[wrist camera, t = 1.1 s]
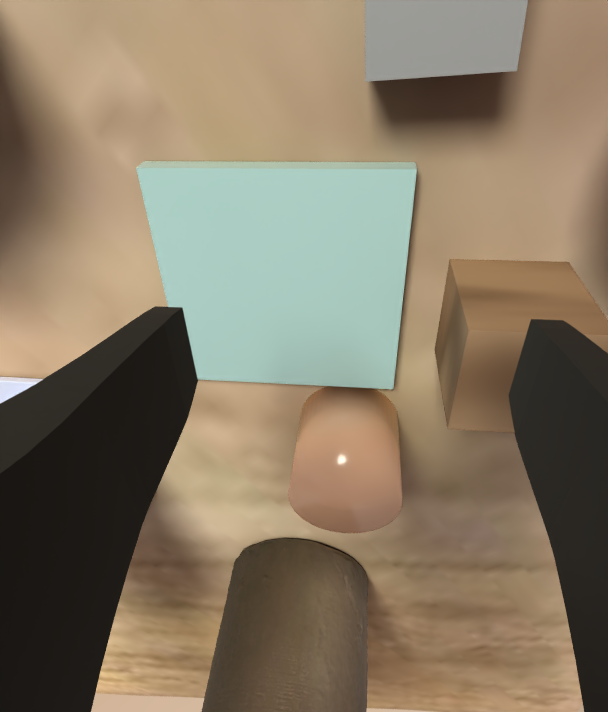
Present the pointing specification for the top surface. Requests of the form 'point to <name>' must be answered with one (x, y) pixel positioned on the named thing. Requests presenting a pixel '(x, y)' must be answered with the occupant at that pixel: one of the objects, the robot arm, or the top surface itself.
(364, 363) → the coaster
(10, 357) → the top surface
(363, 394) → the peach domed cylinder
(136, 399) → the robot arm
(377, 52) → the grey square block
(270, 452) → the top surface
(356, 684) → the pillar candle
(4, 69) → the top surface
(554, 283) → the walnut block
